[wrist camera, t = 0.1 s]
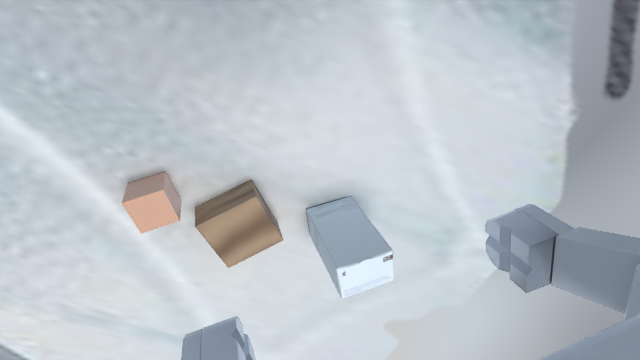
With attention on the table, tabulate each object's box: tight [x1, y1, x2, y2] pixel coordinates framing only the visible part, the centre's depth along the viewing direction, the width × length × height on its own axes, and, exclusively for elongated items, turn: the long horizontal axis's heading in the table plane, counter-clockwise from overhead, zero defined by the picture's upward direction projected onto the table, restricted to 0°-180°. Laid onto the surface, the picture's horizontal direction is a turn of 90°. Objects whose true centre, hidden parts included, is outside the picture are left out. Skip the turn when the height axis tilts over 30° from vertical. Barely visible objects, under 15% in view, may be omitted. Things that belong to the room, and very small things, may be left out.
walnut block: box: [195, 179, 283, 268], centre depth 53 cm, size 9×9×5 cm
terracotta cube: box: [122, 171, 181, 233], centre depth 47 cm, size 5×5×5 cm
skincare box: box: [306, 197, 394, 299], centre depth 53 cm, size 8×6×15 cm
